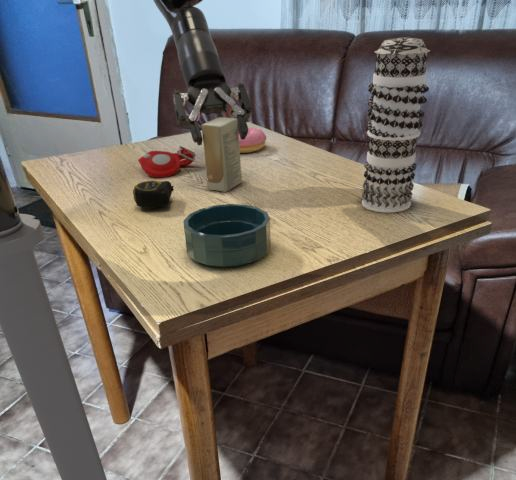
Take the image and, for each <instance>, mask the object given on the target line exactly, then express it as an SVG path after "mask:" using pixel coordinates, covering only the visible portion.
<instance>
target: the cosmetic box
mask: <svg viewBox="0 0 516 480" xmlns="http://www.w3.org/2000/svg"><path fill="white" fill-rule="evenodd" d="M201 135H202V139H203V141H202V144H203V150H204V151H203V152H204V160H205V169H206V178H207V180H206V181H207V186H208V190H210V191H217V192H223V193H227V192H228V191H230V190H232V189H233V188H235V187H237V186H238V185H240V184H242V182H243V177H242V165H241V163H242V162H241V153H240V149H239V135H238V121H237V119H236V118H232V117H224V116H219V117H216V118H213V119H212V120H209V121H206V122H204V123H202V124H201Z"/></svg>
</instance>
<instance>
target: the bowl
mask: <svg viewBox="0 0 516 480" xmlns="http://www.w3.org/2000/svg"><path fill="white" fill-rule="evenodd" d="M183 230H184V231H183V232H184V239H185V247H186V253H187V256H188V257H189V258H190V259H192V260H193V261H194V262H197V263H200V264H203V265H205V266H210V267H215V268H233V267H241V266H246V265H248V264H252V263H254V262H255V261H258V260H260V259H262V258H263V257H264V256H266V255H267V254H268V253H269V251H270V249H271V247H272V238H271V236H272V235H271V218H270V215H269V213H268V212H267V211H265V210H264V209H262V208H260V207H258V206H253V205H248V204H240V203H226V204H215V205H212V206H211V205H210V206H206V207H201V208H199V209H197V210H195V211H193V212H191V213H189V214H188V215H187V216H186V217H185V218H184V219H183Z"/></svg>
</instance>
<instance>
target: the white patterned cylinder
mask: <svg viewBox="0 0 516 480" xmlns="http://www.w3.org/2000/svg"><path fill="white" fill-rule="evenodd" d="M429 52H431V50H430V49H428V48H427V46H426V43H425V41H424V40H423V39H421V38H419V37H393V38H387V39H385V40H383V41H382V43H381V44H380V46H379V47H378V49H377V50H375V51H374V53H375V54H376V55H375V66H374V67H375V69H374V73H373V75H372V76H373V77H372V82H371V83H369V85H368V88H367V91H368V92H369V93H370V95H371V96H370V97H369V98H368V99H367V105H368V107H369V108H368V109H367V113H366V115H367V116H368V118H369V121H367V124H366V125H367V126H366V128H367V131H366V135H367V136H368V137H369V142H368V151H367V152H366V161H365V163H364V165H363V167H364V169H365V171H364V174H363V177H364V178H365V180H364V181H363V182H362V188H363V190H362V193H361V197H362V198H363V199H362V200H361V205H362V207H363V208H365V209H367V210H368V211H369V210H370V211H371V212H377V213H385V214H387V213H399V212H404V211H406V210H408V209H410V207H411V206H412V202H411V200H412V198H413V192H412V191H413V190H414V186H415V183H413V181H412V180H414V179H415V176H416V173H415V172H413V171H415V170H416V168H417V163H415V162H416V156H417V152H416V147H417V138H419V137H420V136H421V133H422V132H421V129H420V128H422V127H423V122H422V121H420V119H421V118H422V117H425V112H424V111H423V110H422V109H421V105H424V104H425V103H427V101H428V99H427V98H426V97H425V95H423V94H426V93H428V92H429V90H430V87H429V86H428V85H426V81H427V71H426V69H427V62H428V55H429Z"/></svg>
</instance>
